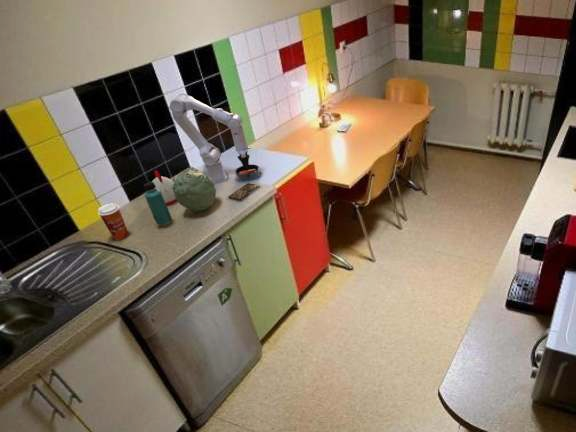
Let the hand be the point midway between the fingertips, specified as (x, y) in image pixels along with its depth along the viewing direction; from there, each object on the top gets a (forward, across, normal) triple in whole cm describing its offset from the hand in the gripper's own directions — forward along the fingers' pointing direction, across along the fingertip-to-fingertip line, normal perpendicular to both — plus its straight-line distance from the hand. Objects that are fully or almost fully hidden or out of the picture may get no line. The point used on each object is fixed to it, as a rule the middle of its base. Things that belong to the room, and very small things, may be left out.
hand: (246, 165), depth 213 cm
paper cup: (+7, -33, +55) cm, 65 cm away
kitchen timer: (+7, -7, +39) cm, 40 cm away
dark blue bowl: (+7, 0, 0) cm, 7 cm away
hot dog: (+6, 0, 0) cm, 6 cm away
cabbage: (+7, -24, +23) cm, 34 cm away
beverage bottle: (+7, -31, +38) cm, 50 cm away
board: (+7, -17, +4) cm, 19 cm away
